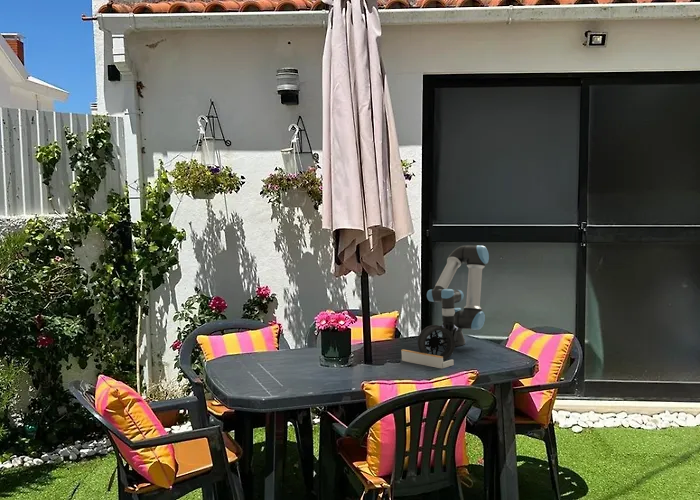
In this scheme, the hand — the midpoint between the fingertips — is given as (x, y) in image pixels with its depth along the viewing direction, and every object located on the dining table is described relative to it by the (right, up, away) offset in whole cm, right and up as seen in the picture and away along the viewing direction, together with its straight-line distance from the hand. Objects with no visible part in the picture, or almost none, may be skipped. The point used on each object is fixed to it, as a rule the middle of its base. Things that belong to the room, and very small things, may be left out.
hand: (450, 353), depth 388 cm
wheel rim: (-9, -3, -8) cm, 12 cm away
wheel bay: (-15, -3, -14) cm, 21 cm away
